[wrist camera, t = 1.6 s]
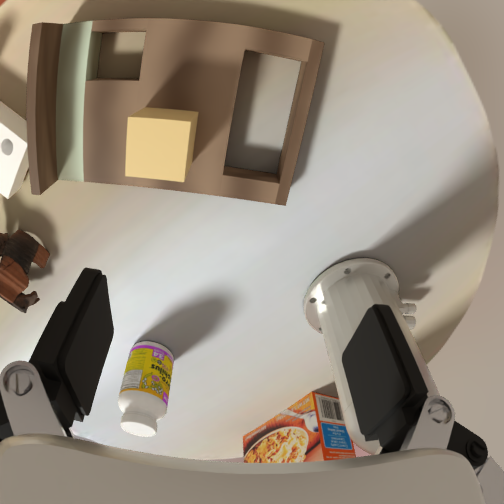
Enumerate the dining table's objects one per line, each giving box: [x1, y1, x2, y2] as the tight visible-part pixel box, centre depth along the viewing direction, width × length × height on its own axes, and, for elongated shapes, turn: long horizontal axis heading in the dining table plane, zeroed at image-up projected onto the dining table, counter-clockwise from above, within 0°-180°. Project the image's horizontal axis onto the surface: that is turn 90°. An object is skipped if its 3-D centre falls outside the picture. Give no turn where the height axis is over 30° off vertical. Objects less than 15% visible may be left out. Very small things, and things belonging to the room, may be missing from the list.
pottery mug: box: [0, 230, 50, 313], centre depth 31 cm, size 12×10×8 cm
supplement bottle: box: [118, 341, 174, 437], centre depth 38 cm, size 7×7×13 cm
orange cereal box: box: [243, 392, 356, 463], centre depth 46 cm, size 23×8×30 cm, turn 147°
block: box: [125, 107, 199, 182], centre depth 23 cm, size 4×4×4 cm
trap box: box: [26, 18, 324, 206], centre depth 23 cm, size 23×15×6 cm, turn 80°
